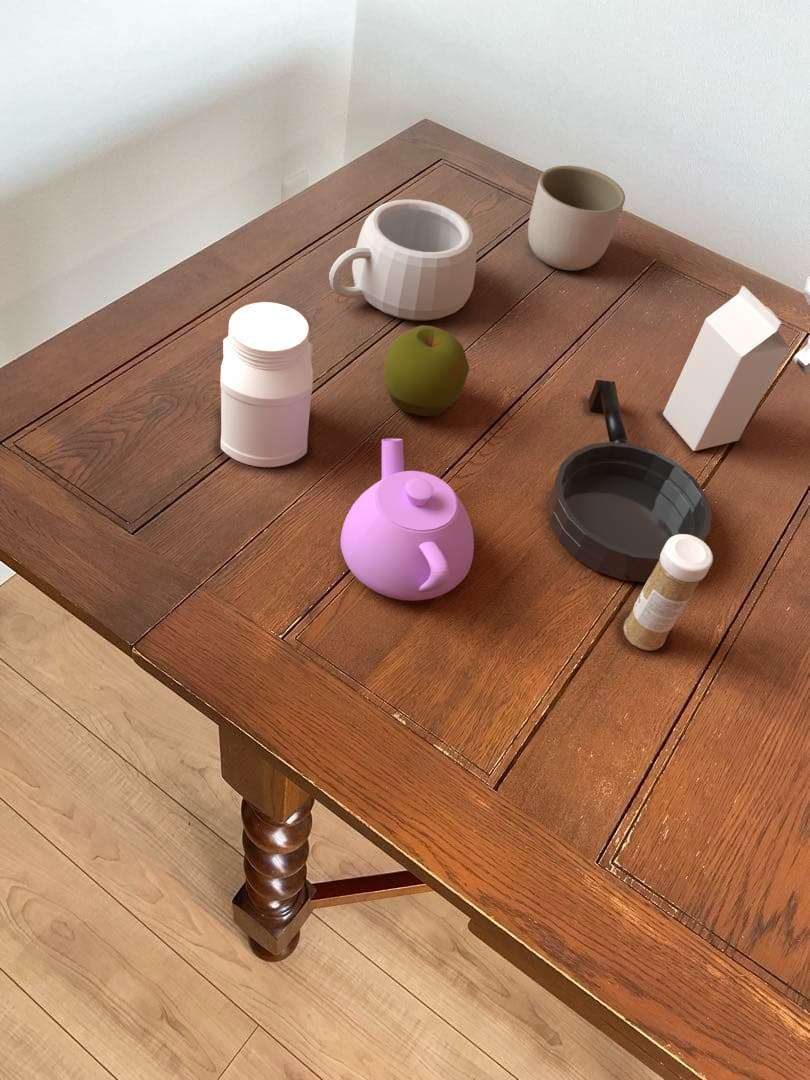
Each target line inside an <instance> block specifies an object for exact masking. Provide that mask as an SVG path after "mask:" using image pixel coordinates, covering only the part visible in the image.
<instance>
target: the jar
mask: <svg viewBox="0 0 810 1080" xmlns="http://www.w3.org/2000/svg"><path fill="white" fill-rule="evenodd" d="M309 326H310V325H309V323H308V321H307V319H306V318H305V317H304V316H303V315H302V314H301V313H300V312H299V311H298V310H296V309H294V308H293V307H291V306H288V305H286V304H281V303H279V302H278V303H277V302H270V301H263V302H261V301H259V302H253V303H249V304H245V305H243V306H241V307H240V308H238V309H237V310H236V311H235V312H233V313H232V314H231V316H230V318H229V321H228V336H226V337H225V338H224V339H223V340H222V343H223V344H222V355H223V358H222V362H221V365H220V384H219V385H220V392H221V393H220V401H221V402H220V420H221V421H220V423H221V424H220V433H221V434H220V449H221V450H222V452H223V453H225V454H226V455H227V456H228V457H230V458H232V459H233V460H235V461H237V462H239V463H241V464H245V465H248V466H251V467H259V468H276V467H282V466H286V465H290V464H292V463H295V462H296V461H298V460H300V459H301V458H302V457H304V456H305V455H306V454H307V453H308V435H309V423H310V413H311V401H312V394H313V385H314V382H313V381H314V369H313V365H312V360H313V351H314V349H313V348H314V346H313V345H312V343H310V342H309V336H310V327H309Z"/></svg>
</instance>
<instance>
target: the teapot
mask: <svg viewBox="0 0 810 1080" xmlns="http://www.w3.org/2000/svg"><path fill="white" fill-rule="evenodd" d="M404 458H405V457H404V439H402V438H383V439H381V479H380V480H378V481H377V482H375V483H374V484H373V485H371V486H369V488H367V489H366V490H365V491H364V492H362V493H361V495H359V497H358V498H357V499H356V500H355V502H354V503H353V504H352V506H351V507H350V509H349V511H348V513H347V515H346V517H345V519H344V521H343V524H342V528H341V534H340V549H341V553H342V556H343V559H344V562H345V564H346V566H347V567H348V569H349V571H350V572H351V573H352V574H353V576H354V577H355V578H356V579H357V580H358V581H359V582H360V583H362V584H363V585H364V586H366V587H367V588H368V589H370V590H372V591H373V592H375V593H377V594H379V595H382V596H384V597H387V598H390V599H396V600H401V601H413V602H414V601H425V600H429V599H434V598H437V597H441V596H442V595H445V594H447V593H449V592H450V591H452V590H453V589H455V588H456V587H457V586H458V585H459V584H460V583H461V582H463V580H465V578H466V576H467V575H468V573H469V572H470V569H471V566H472V563H473V558H474V554H475V553H474V551H475V538H474V529H473V526H472V522H471V519H470V516H469V513H468V512H467V510H466V508H465V506H464V504H463V503H462V500H461V499H460V498H459V496H458V494H457V493H456V492H455V491H454V489H453V488H451V486H450V485H449V484H448V483H447V482H446V481H444V480H443V479H441V478H440V477H437V475H434V474H431V473H428V472H424V471H419V470H405V461H404V460H405V459H404Z"/></svg>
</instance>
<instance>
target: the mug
mask: <svg viewBox="0 0 810 1080" xmlns="http://www.w3.org/2000/svg"><path fill="white" fill-rule="evenodd" d="M351 262H352V264H351V270H352V271H351V272H352V279H353V284H354V286H345V285H343V284H342V283H341V280H340V279H341V275H342V272H343V271H344V269H345V268H346V267H347V266H348V265H349V264H350V263H351ZM476 268H477V241H476V238H475V235H474V232H473V230H472V227H471V225H470V223H469V222H468V221H467V220H466V219H465V218H464V217H463V216H461V215H460V214H459V213H458V212H456V211H455V210H453V209H451V208H449V207H447V206H444V205H442V204H438V203H436V202H432V201H429V200H428V201H427V200H422V199H409V198H408V199H396V200H391V201H388V202H386V203H382V204H380V205H379V206H377V207H375V208H374V209H373V211H372V212H371V213H370V214H369V216H368V217H366V219H365V221H364V223H363V225H362V227H361V230H360V232H359V235H358V239H357V243H356V246H355V247H352V248H350V249H348V250H346V251H345V252H343V253H342V254H341V255H339V256H338V258H337V259H336V260H334V262H333V264H332V266H331V268H330V271H329V274H328V275H329V276H328V277H329V287H330V288H331V291H332V292H333V293H334V294H336V295H338V296H340V297H343V298H350V299H353V298H358V297H359V298H360V297H363V298H364V300H366V302H367V303H368V304H370V305H371V306H373V308H375V309H376V310H379V311H381V312H382V313H385V314H386V315H389V316H392V317H395V318H398V319H402V320H408V321H421V322H424V321H432V320H433V321H434V320H439V319H442V318H445V317H447V316H450V315H452V314H455V313H456V312H457V311H459V310H460V309H461V308H464V306H465V304H466V303H467V302H468V300H469V298H470V296H471V294H472V292H473V290H474V284H475V278H476Z"/></svg>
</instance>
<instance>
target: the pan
mask: <svg viewBox="0 0 810 1080" xmlns="http://www.w3.org/2000/svg"><path fill="white" fill-rule="evenodd" d="M546 509H547V518H548V523H549V526H550V527H551V529H552V531H553V533H554V534H555V537H556V538H557V540H558V541H559V543H560V544H561V545H562V546H563V547H564V548H565V549H566V550H567V551H568V552H569V553H570V554H571V555H572V556H573V557H574V558H575V559H576V560H578V561H580V562H581V563H583V564H584V565H586V566H588V567H589V568H590V569H592V570H594V571H596V572H598V573H600V574H604V575H606V576H609V577H612V578H615V579H618V580H621V581H628V582H639V583H646V582H647V580H648V579H649V577H650V576H651V575H652V572H653V571H654V569H655V567H656V565H657V563H658V561H659V559H660V554H661V551H662V549H663V548H664V546H665V544H666V542H667V541H668V540H669V539H670V538H671V537H672V536H675V535H678V534H687V535H692V536H695V537H697V538H699V539H700V540H702V541H703V542H704V543H705V541H706V539H707V537H708V536H709V534H710V532H711V531H710V530H711V525H712V519H713V513H712V510H711V506H710V503H709V499H708V496H707V494H706V493H705V491H704V490H703V488H702V487H701V485H700V484H699V482H698V481H697V479H696V478H695V477H694V476H693V475H692V474H690V473H689V472H688V471H687V469H685V468H684V467H682V466H681V465H680V464H679V463H678V462H676V461H675V460H673V459H671V458H669V457H667V456H665V455H663V454H662V453H660V452H658V451H656V450H653V449H650V448H647V447H643V446H641V445H638V444H634V443H628V444H627V443H618V442H609V441H605V442H598V443H591V444H587V445H586V446H583V447H581V448H579V449H577V450H574V451H572V452H571V453H570V454H569V455H568V456H567V457H566V458H565V459H564V460H563V461H562V463H561V464H560V465H559V468H558V471H557V472H556V476H555V478H554V481H553V484H552V486H551V489H550V492H549V495H548V497H547V501H546Z"/></svg>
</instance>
